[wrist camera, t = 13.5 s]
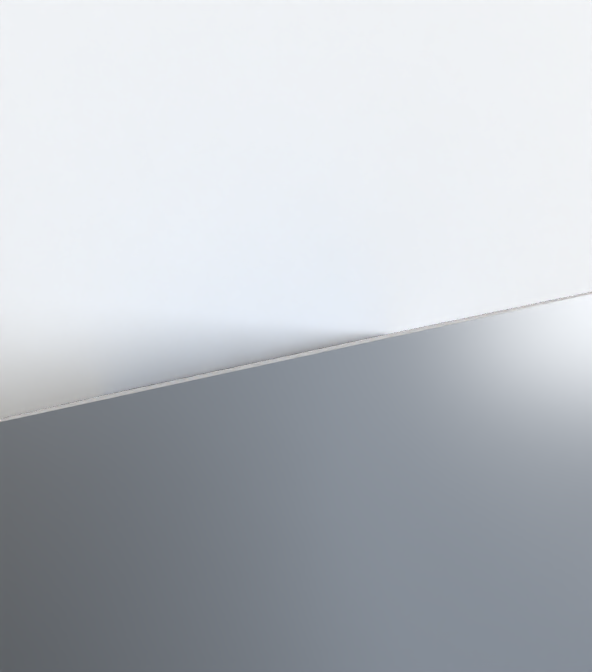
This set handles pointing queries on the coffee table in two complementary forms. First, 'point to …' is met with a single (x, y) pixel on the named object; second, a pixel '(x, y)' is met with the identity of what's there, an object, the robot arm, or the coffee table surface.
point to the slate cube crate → (315, 511)
